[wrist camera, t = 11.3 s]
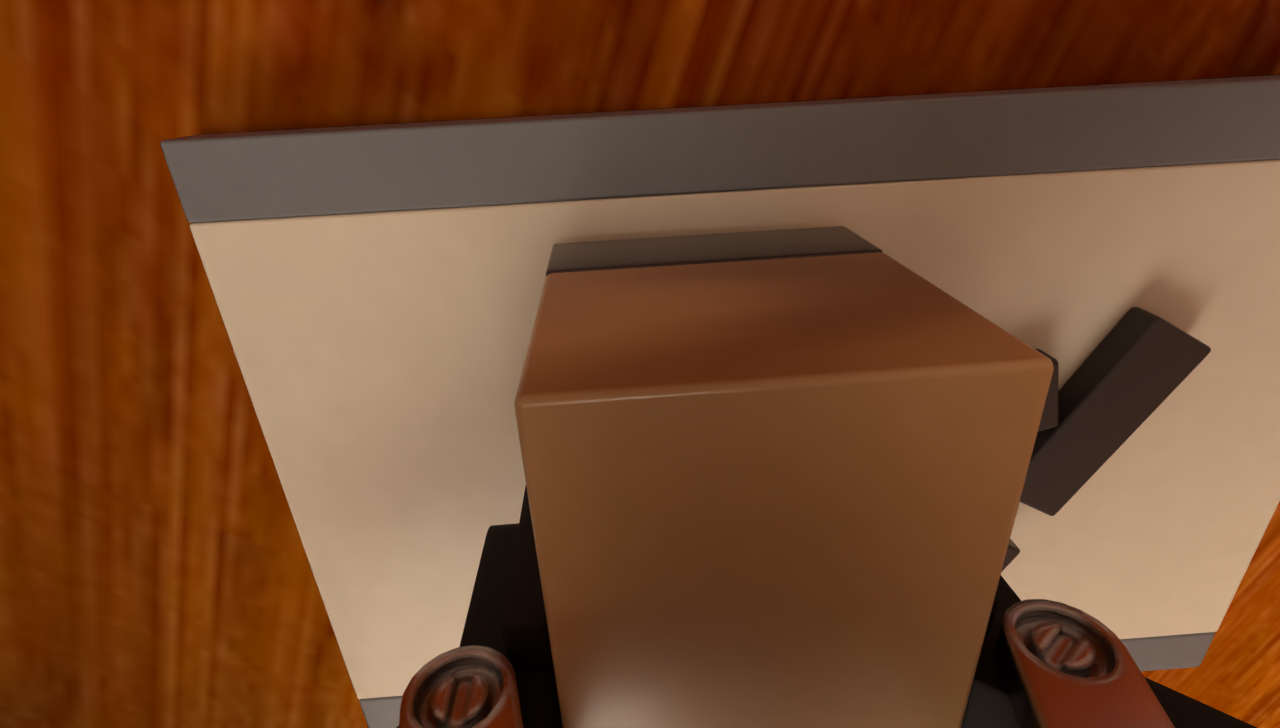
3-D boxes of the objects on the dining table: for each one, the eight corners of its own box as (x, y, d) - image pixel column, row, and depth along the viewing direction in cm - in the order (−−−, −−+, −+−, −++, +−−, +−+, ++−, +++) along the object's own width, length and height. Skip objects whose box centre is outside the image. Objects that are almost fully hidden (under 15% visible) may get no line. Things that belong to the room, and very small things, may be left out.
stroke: (1131, 303, 11) (1159, 315, 10) (1186, 336, 11) (1215, 350, 11) (982, 475, 12) (999, 494, 12) (1034, 499, 13) (1054, 518, 12)
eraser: (844, 224, 10) (1061, 360, 5) (803, 674, 14) (902, 965, 9) (552, 243, 10) (510, 399, 5) (601, 692, 14) (601, 996, 9)
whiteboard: (1413, 67, 10) (1488, 67, 10) (1167, 634, 16) (1200, 668, 15) (197, 134, 10) (157, 141, 9) (383, 696, 16) (369, 734, 15)
